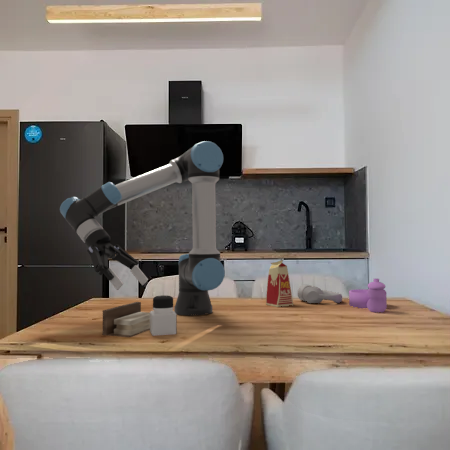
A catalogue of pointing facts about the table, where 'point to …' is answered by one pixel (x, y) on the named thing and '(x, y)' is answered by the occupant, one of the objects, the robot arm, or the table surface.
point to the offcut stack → (132, 323)
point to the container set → (370, 297)
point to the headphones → (317, 294)
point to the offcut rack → (117, 313)
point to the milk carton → (278, 286)
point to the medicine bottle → (163, 316)
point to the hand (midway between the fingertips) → (133, 284)
